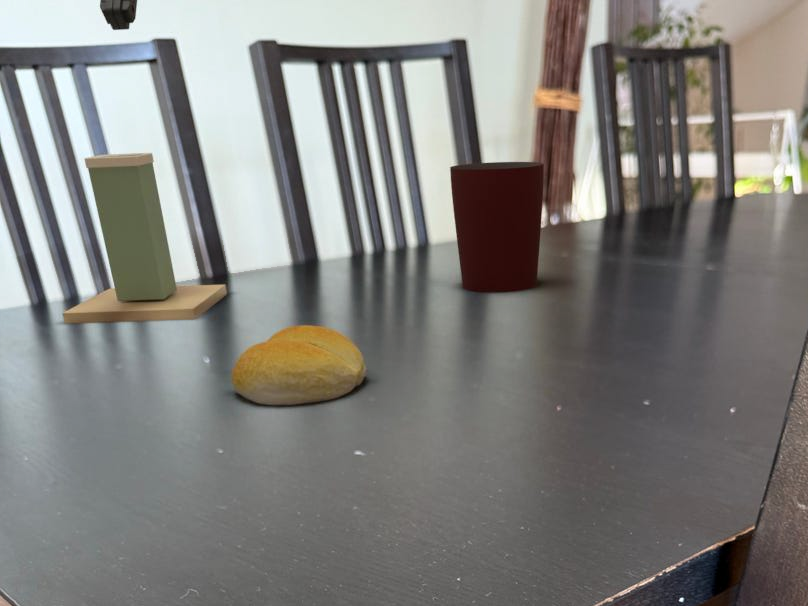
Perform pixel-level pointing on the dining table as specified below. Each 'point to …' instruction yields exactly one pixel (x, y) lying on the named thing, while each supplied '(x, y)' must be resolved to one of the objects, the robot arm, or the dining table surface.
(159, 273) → the post
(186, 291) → the post base
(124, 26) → the robot arm
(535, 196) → the mug
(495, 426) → the dining table surface
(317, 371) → the bread roll
